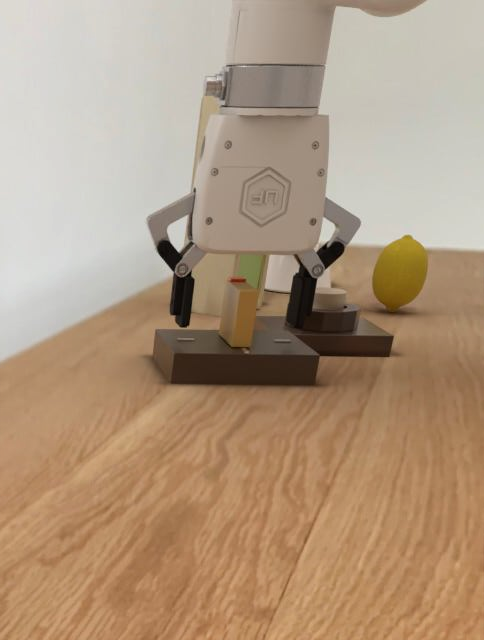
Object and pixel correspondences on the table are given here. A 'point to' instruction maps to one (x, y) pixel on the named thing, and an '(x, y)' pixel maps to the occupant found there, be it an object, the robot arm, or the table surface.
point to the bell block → (335, 332)
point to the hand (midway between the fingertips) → (238, 325)
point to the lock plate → (234, 358)
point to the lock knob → (238, 312)
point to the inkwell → (288, 273)
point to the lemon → (400, 273)
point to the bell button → (329, 298)
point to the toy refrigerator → (220, 266)
